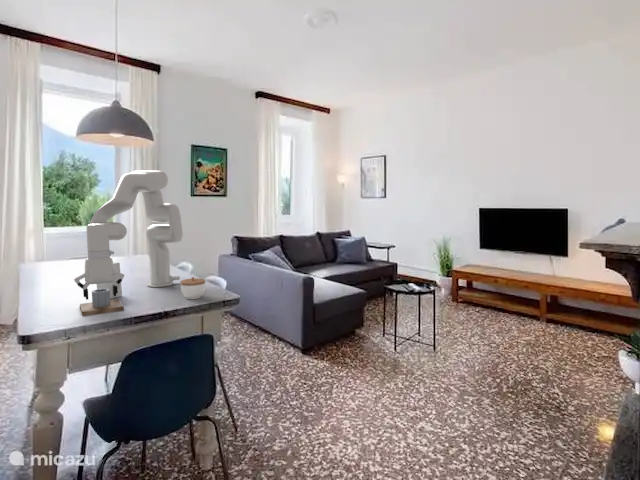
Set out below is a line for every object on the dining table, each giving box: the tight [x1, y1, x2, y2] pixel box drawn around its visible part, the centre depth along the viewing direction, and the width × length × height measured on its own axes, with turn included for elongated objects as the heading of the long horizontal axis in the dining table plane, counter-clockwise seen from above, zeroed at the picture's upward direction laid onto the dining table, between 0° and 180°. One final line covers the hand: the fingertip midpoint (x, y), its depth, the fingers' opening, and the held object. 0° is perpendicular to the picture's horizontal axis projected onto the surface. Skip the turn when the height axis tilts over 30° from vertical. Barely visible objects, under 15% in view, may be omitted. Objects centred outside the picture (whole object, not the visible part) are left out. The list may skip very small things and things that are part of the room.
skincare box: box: [96, 261, 123, 300], centre depth 170 cm, size 8×7×16 cm
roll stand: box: [79, 298, 125, 317], centre depth 151 cm, size 14×14×6 cm
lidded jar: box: [180, 276, 206, 300], centre depth 170 cm, size 11×11×9 cm
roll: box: [91, 288, 111, 307], centre depth 151 cm, size 6×6×6 cm
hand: (101, 297), depth 151 cm, fingers open, 9 cm apart
